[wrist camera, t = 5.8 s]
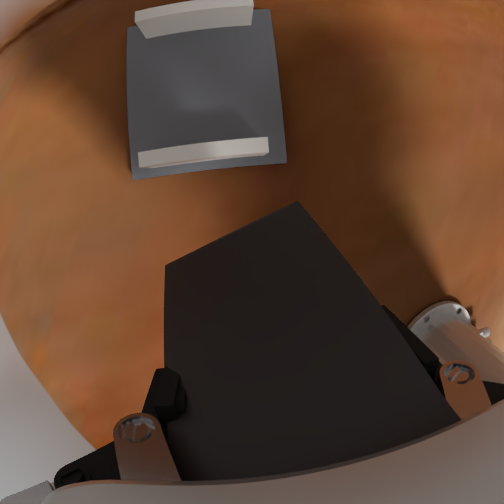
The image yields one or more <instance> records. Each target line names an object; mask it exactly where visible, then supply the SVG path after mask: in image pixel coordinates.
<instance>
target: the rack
mask: <svg viewBox="0 0 504 504" xmlns="http://www.w3.org/2000/svg"><path fill="white" fill-rule="evenodd" d="M253 8H254V3H253V0H193V1H186V2H180V3H174V4H168V5H163V6H158V7H153V8H148V9H144V10H139V11H135V23H136V24H137V25H136V26H131V27H128V28H127V112H128V131H129V145H130V158H131V169H132V179H133V180H139V179H145V178H152V177H159V176H166V175H173V174H180V173H188V172H196V171H205V170H214V169H223V168H233V167H244V166H256V165H269V164H284V163H287V155H286V143H285V132H284V122H283V112H282V102H281V93H280V83H279V75H278V66H277V58H276V50H275V42H274V34H273V27H272V19H271V12H270V9H253Z"/></svg>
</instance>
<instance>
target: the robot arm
mask: <svg viewBox="0 0 504 504" xmlns="http://www.w3.org/2000/svg"><path fill="white" fill-rule="evenodd" d="M381 307H382V308H383V309H384V311H385V312H386V314H387V315H388V316H389V318H390V319H391V320H392V322H393V323H394V325H395V326H396V327H397V329H398V330H399V332H400V333H401V335H402V336H403V337H404V339H405V340H406V342H407V343H408V345H409V346H410V348H411V349H412V350H413V352H414V353H415V355H416V356H417V358H418V359H419V361H420V362H421V364H422V365H423V367H424V368H425V370H426V371H427V373H428V374H429V376H430V377H431V379H432V380H433V382H434V383H435V385H436V386H437V388H438V389H439V391H440V392H441V394H442V395H443V396H444V398H445V399H446V401H447V402H448V403H449V405H450V406H451V407H452V408H453V410H454V411H455V412H456V413H457V415H458V416H459V417H460V418H461V420H460V421H458V422H456V423H454V424H452V425H449V426H447V427H445V428H443V429H440V430H438V431H435V432H433V433H431V434H428V435H426V436H423V437H421V438H418V439H415V440H413V441H410V442H407V443H404V444H402V445H399V446H396V447H393V448H390V449H387V450H384V451H380V452H377V453H374V454H371V455H367V456H364V457H360V458H356V459H353V460H349V461H345V462H341V463H337V464H332V465H328V466H323V467H318V468H313V469H308V470H303V471H297V472H291V473H285V474H278V475H270V476H262V477H253V478H242V479H229V480H207V481H182V478H181V476H180V473H179V471H178V469H177V466H176V464H175V461H174V459H173V456H172V453H171V451H170V449H171V448H172V447H173V446H171V445H170V444H169V442H168V429H167V422H171V421H174V420H178V415H179V414H182V413H185V397H186V389H185V388H183V387H181V386H180V385H179V379H180V374H178V373H176V372H175V371H173V370H171V369H170V368H168V367H166V366H165V368H160V369H156V371H155V373H154V376H153V379H152V382H151V385H150V388H149V391H148V394H147V397H146V400H145V404H144V407H143V410H142V413H135V414H130V415H128V416H125V417H124V418H122V419H120V420H119V421H118V422H117V423H116V425H115V427H114V429H113V438H114V441H113V442H111V443H109V444H107V445H105V446H103V447H101V448H99V449H98V450H96V451H94V452H92V453H90V454H88V455H86V456H84V457H82V458H80V459H78V460H76V461H74V462H72V463H69V464H67V465H65V466H64V467H62V468H61V469H60V470H59V471H58V472H57V474H56V475H55V478H54V482H52V483H49V482H48V481H45V482H43V483H40V484H38V485H35V486H33V487H31V488H28V489H26V490H23V491H21V492H18V493H16V494H13V495H10V496H8V497H6V498H4V499H2V500H1V502H0V504H504V352H502V351H501V350H500V349H499V348H497V347H496V346H495V345H493V344H492V341H491V340H490V339H486V338H485V337H488V336H489V335H490V329H489V327H485V328H482V329H480V330H478V329H477V328H476V327H474V326H473V325H471V319H470V315H469V313H468V311H467V310H466V309H465V308H464V307H463V306H462V305H460V304H458V303H457V302H453V301H442V302H438V303H436V304H433V305H431V306H429V307H428V308H426V309H425V310H423V311H422V312H421V313H420V314H419V315H417V316H416V317H415V318H414V319H413V321H412V322H411V323H410V324H409V325H408V327H407V326H406V325H405V324H404V323H402V322H401V321H400V320H399V319H398V318H397V317H396V316H395V315H394V314H393V313H392V312H391V311H390V310H389V309H388V308H387V307H386V306H384V305H383V306H381Z"/></svg>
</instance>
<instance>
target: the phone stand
mask: <svg viewBox="0 0 504 504" xmlns="http://www.w3.org/2000/svg"><path fill="white" fill-rule="evenodd" d="M165 366H166V367H168V368H170V369H171V370H173V371H175V372H176V373H178V374H180V379H179V385H180V386H181V387H183V388H185V389H186V397H185V413H182V414H179V415H178V420H174V421H171V422H167V429H168V442H169V444H170V445H171V446H173V447H172V448H171V449H170V451H171V453H172V456H173V459H174V461H175V464H176V466H177V469H178V471H179V473H180V476H181V478H182V481H207V480H229V479H242V478H253V477H262V476H270V475H278V474H285V473H291V472H297V471H303V470H308V469H313V468H318V467H323V466H328V465H332V464H337V463H341V462H345V461H349V460H353V459H356V458H360V457H364V456H367V455H371V454H374V453H377V452H380V451H384V450H387V449H390V448H393V447H396V446H399V445H402V444H404V443H407V442H410V441H413V440H415V439H418V438H421V437H423V436H426V435H428V434H431V433H433V432H435V431H438V430H440V429H443V428H445V427H447V426H449V425H452V424H454V423H456V422H458V421H460V420H461V418H460V417H459V416H458V415H457V413H456V412H455V411H454V410H453V408H452V407H451V406H450V405H449V403H448V402H447V401H446V399H445V398H444V396H443V395H442V394H441V392H440V391H439V389H438V388H437V386H436V385H435V383H434V382H433V380H432V379H431V377H430V376H429V374H428V373H427V371H426V370H425V368H424V367H423V365H422V364H421V362H420V361H419V359H418V358H417V356H416V355H415V353H414V352H413V350H412V349H411V348H410V346H409V345H408V343H407V342H406V340H405V339H404V337H403V336H402V335H401V333H400V332H399V330H398V329H397V327H396V326H395V325H394V323H393V322H392V320H391V319H390V318H389V316H388V315H387V314H386V312H385V311H384V309H383V308H382V307H381V305H380V304H379V303H378V301H377V300H376V299H375V297H374V296H373V295H372V293H371V292H370V291H369V289H368V288H367V287H366V285H365V284H364V283H363V281H362V280H361V279H360V277H359V276H358V275H357V273H356V272H355V271H354V270H353V268H352V267H351V266H350V264H349V263H348V262H347V261H346V259H345V258H344V257H343V256H342V254H341V253H340V252H339V250H338V249H337V248H336V247H335V245H334V244H333V243H332V242H331V240H330V239H329V238H328V237H327V236H326V234H325V233H324V232H323V231H322V229H321V228H320V227H319V226H318V225H317V223H316V222H315V221H314V220H313V218H312V217H311V216H310V215H309V214H308V212H307V211H306V210H305V209H304V208H303V207H302V205H301V204H300V203H299V202H298V201H297V202H295V203H292V204H290V205H288V206H286V207H284V208H282V209H280V210H278V211H275V212H273V213H271V214H269V215H267V216H265V217H263V218H261V219H259V220H257V221H254V222H252V223H250V224H248V225H246V226H244V227H242V228H240V229H238V230H236V231H234V232H232V233H230V234H228V235H225V236H223V237H221V238H219V239H217V240H215V241H213V242H211V243H209V244H207V245H205V246H203V247H201V248H199V249H197V250H195V251H193V252H191V253H189V254H187V255H185V256H183V257H181V258H179V259H177V260H175V261H173V262H171V263H169V264H167V265H166V266H165V290H164V368H165Z"/></svg>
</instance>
